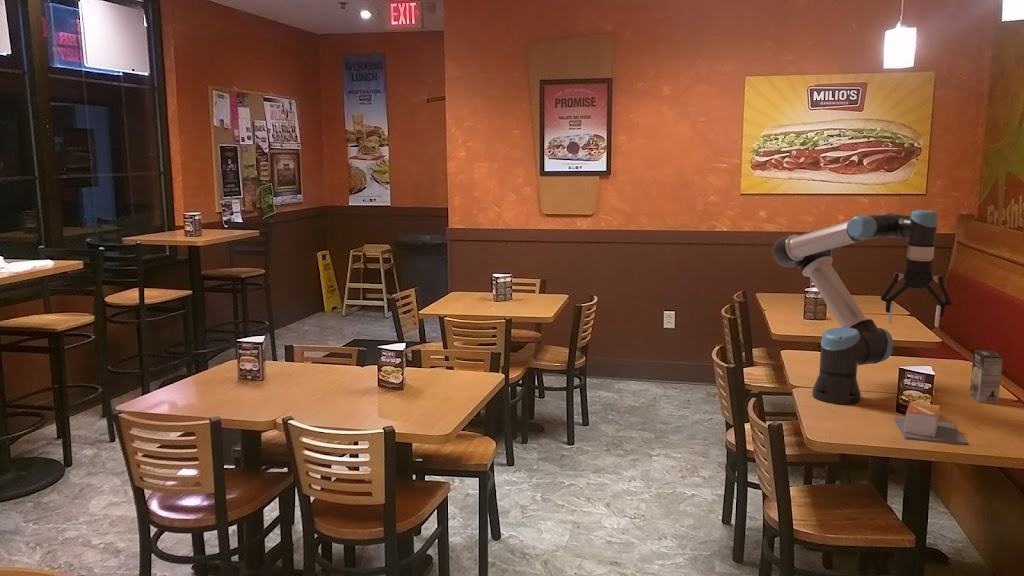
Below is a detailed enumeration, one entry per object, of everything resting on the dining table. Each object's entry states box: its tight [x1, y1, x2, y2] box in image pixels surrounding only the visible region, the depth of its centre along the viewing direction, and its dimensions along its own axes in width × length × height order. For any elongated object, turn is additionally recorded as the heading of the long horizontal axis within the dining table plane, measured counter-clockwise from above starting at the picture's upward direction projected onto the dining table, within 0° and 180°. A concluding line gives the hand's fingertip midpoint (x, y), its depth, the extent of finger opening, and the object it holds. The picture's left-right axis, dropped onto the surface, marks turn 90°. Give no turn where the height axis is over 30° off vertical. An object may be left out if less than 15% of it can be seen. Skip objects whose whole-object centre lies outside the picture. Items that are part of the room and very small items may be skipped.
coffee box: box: [969, 349, 1004, 404], centre depth 266 cm, size 9×6×16 cm
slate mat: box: [893, 417, 968, 445], centre depth 235 cm, size 16×18×1 cm
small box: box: [904, 401, 941, 437], centre depth 235 cm, size 8×6×13 cm
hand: (912, 324), depth 254 cm, fingers open, 13 cm apart
